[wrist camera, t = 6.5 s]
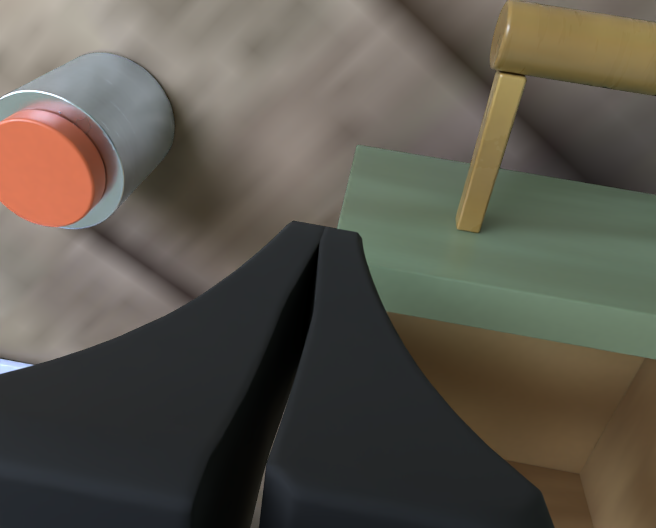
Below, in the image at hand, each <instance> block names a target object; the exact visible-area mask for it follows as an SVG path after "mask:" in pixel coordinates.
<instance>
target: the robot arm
mask: <svg viewBox="0 0 656 528" xmlns="http://www.w3.org/2000/svg"><path fill="white" fill-rule="evenodd" d="M290 392H291V393H290ZM289 395H290V396H289ZM288 398H289V399H288ZM287 401H288V402H287ZM286 404H287V405H286ZM285 407H286V409H285ZM284 409H285V412H284ZM283 412H284V415H283ZM282 415H283V418H282ZM281 418H282V421H281ZM280 421H281V423H280ZM279 424H280V426H279ZM278 427H279V429H278ZM277 429H278V432H277ZM276 432H277V435H276ZM275 435H276V438H275ZM274 438H275V441H274ZM273 441H274V444H273ZM272 444H273V447H272ZM271 447H272V450H271ZM270 450H271V452H270ZM269 453H270V455H269ZM268 456H269V458H268ZM267 459H268V461H267ZM266 463H267V464H266ZM265 466H266V473H265V481H264V490H263V498H262V507H261V515H260V524H259V528H555V527H554V525H553V522H552V519H551V516H550V514H549V511H548V508H547V505H546V503H545V500H544V497H543V494H542V492H541V491H540V490H539V489H538V488H537V487H536V486H535V485H533V484H532V483H531V482H530V481H529V480H528V479H526V478H525V477H524V476H523V475H522V474H521V473H519V472H518V471H517V470H516V469H515V468H514V467H512V466H511V465H510V464H509V463H508V462H507V461H505V460H504V459H503V458H502V457H501V456H500V455H498V454H497V453H496V452H495V451H494V450H493V449H491V448H490V447H489V446H488V445H487V444H486V443H485V442H484V441H483V440H482V439H481V438H480V437H479V436H478V435H477V434H476V433H475V432H474V431H473V430H472V429H471V428H470V427H469V426H468V425H467V424H466V423H465V422H464V421H463V420H462V419H461V418H460V417H459V416H458V415H457V414H456V412H455V411H454V410H453V409H452V408H451V407H450V406H449V404H448V403H447V402H446V401H445V400H444V398H443V397H442V396H441V395H440V394H439V393H438V391H437V390H436V389H435V388H434V387H433V385H432V384H431V383H430V382H429V380H428V379H427V378H426V376H425V375H424V373H423V372H422V371H421V369H420V368H419V367H418V365H417V364H416V362H415V361H414V359H413V358H412V356H411V354H410V353H409V351H408V350H407V348H406V347H405V345H404V343H403V342H402V340H401V338H400V337H399V335H398V333H397V331H396V329H395V328H394V326H393V324H392V322H391V320H390V318H389V316H388V314H387V312H386V310H385V308H384V306H383V303H382V301H381V299H380V296H379V294H378V292H377V289H376V287H375V284H374V282H373V279H372V276H371V274H370V271H369V267H368V264H367V261H366V257H365V253H364V249H363V242H362V237H361V236H360V235H359V233H358V232H354V231H348V230H343V229H337V228H331V227H326V226H320V225H315V224H309V223H304V222H298V221H292V222H291V223H289V224H288V225H286V226H285V227H284V228H283V229H282V230H281V231H280V232H279V233H278V234H277V235H276V236H275V237H274V238H273V239H272V240H271V241H270V242H269V243H268V244H267V245H266V246H264V247H263V248H262V249H261V250H260V251H259V252H258V253H256V254H255V255H254V256H253V257H252V258H250V259H249V260H248V261H247V262H246V263H244V264H243V265H242V266H241V267H240V268H238V269H237V270H236V271H234V272H233V273H232V274H230V275H229V276H227V277H226V278H225V279H223V280H222V281H220V282H219V283H218V284H216V285H215V286H213V287H212V288H211V289H209V290H208V291H206V292H205V293H203V294H202V295H200V296H199V297H197V298H195V299H194V300H192V301H191V302H189V303H187V304H186V305H184V306H182V307H180V308H179V309H177V310H175V311H173V312H171V313H169V314H167V315H166V316H164V317H161V318H159V319H157V320H155V321H153V322H150V323H148V324H146V325H144V326H142V327H139V328H137V329H135V330H133V331H130V332H128V333H126V334H124V335H122V336H119V337H117V338H114V339H112V340H109V341H106V342H104V343H101V344H98V345H96V346H93V347H90V348H88V349H85V350H82V351H79V352H76V353H73V354H70V355H67V356H64V357H60V358H57V359H54V360H51V361H47V362H44V363H40V364H36V365H32V364H26V363H21V362H16V361H10V360H5V359H0V528H250V527H251V522H252V518H253V514H254V510H255V506H256V501H257V497H258V493H259V489H260V485H261V481H262V477H263V473H264V469H265Z"/></svg>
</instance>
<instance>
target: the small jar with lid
mask: <svg viewBox="0 0 656 528" xmlns="http://www.w3.org/2000/svg"><path fill="white" fill-rule="evenodd" d="M174 131H175V124H174V116H173V111H172V108H171V105H170V102H169V100H168V98H167V96H166V94H165V92H164V91H163V89H162V87H161V86H160V85H159V83H158V82H157V81H156V80H155V78H154V77H153V76H152V75H151V74H150V73H149V72H147V71H146V70H145V69H144V68H143V67H141V66H140V65H138V64H137V63H135V62H133V61H131V60H129V59H127V58H125V57H122V56H120V55H116V54H112V53H105V52H95V53H89V54H85V55H82V56H79V57H77V58H75V59H73V60H71V61H69V62H68V63H66V64H64V65H62V66H60V67H58V68H56V69H54V70H52V71H50V72H48V73H46V74H44V75H42V76H40V77H38V78H36V79H35V80H33V81H31V82H29V83H27V84H25V85H23V86H21V87H19V88H17V89H15V90H13V91H11V92H9V93H7V94H5V95H4V96H2V97H0V201H1V202H2V203H3V204H4V205H5V206H6V207H7V208H8V209H9V210H11V211H12V212H14V213H15V214H16V215H18V216H20V217H21V218H23V219H25V220H27V221H30V222H32V223H35V224H38V225H42V226H48V227H59V228H66V229H82V228H88V227H92V226H95V225H97V224H100V223H102V222H103V221H105V220H106V219H108V218H109V217H110V216H111V215H112V214H113V213H114V212H115V211H116V210H117V209H118V208H119V207H120V206H121V204H122V203H123V202H124V201H125V200H126V199H127V198H128V197H129V196H130V195H131V194H132V193H133V191H134V190H135V189H136V188H137V187H138V186H139V185H140V184H141V183H142V182H143V181H144V180H145V178H146V177H147V176H148V175H149V174H150V173H151V172H152V171H153V170H154V169H155V168H156V166H157V165H158V164H159V163H160V162H161V161H162V160H163V159H164V158H165V156H166V155H167V154H168V152H169V150H170V148H171V145H172V142H173V138H174Z"/></svg>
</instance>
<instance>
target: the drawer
mask: <svg viewBox="0 0 656 528" xmlns="http://www.w3.org/2000/svg"><path fill="white" fill-rule="evenodd" d="M490 66H491V68H492V69H493V70H496V74H495V77H494V81H493V85H492V88H491V92H490V95H489V99H488V103H487V106H486V110H485V113H484V117H483V121H482V124H481V128H480V131H479V135H478V139H477V142H476V146H475V149H474V153H473V157H472V160H471V164H470V163H464V162H458V161H452V160H446V159H440V158H434V157H428V156H422V155H416V154H410V153H404V152H398V151H392V150H386V149H380V148H374V147H368V146H362V145H357V146H356V150H355V155H354V159H353V163H352V167H351V171H350V176H349V180H348V184H347V188H346V192H345V197H344V201H343V205H342V209H341V214H340V218H339V222H338V226H337V229H343V230H348V231H354V232H358V233H359V235H360V236H361V237H362V242H363V249H364V253H365V257H366V261H367V264H368V267H369V271H370V274H371V276H372V279H373V282H374V284H375V287H376V289H377V292H378V294H379V296H380V299H381V301H382V303H383V306H384V308H385V310H386V312H387V314H388V316H389V318H390V320H391V322H392V324H393V326H394V328H395V329H396V331H397V333H398V335H399V337H400V338H401V340H402V342H403V343H404V345H405V347H406V348H407V350H408V351H409V353H410V354H411V356H412V358H413V359H414V361H415V362H416V364H417V365H418V367H419V368H420V369H421V371H422V372H423V373H424V375H425V376H426V378H427V379H428V380H429V382H430V383H431V384H432V385H433V387H434V388H435V389H436V390H437V391H438V393H439V394H440V395H441V396H442V397H443V398H444V400H445V401H446V402H447V403H448V404H449V406H450V407H451V408H452V409H453V410H454V411H455V412H456V414H457V415H458V416H459V417H460V418H461V419H462V420H463V421H464V422H465V423H466V424H467V425H468V426H469V427H470V428H471V429H472V430H473V431H474V432H475V433H476V434H477V435H478V436H479V437H480V438H481V439H482V440H483V441H484V442H485V443H486V444H487V445H488V446H489V447H490V448H491V449H493V450H494V451H495V452H496V453H497V454H498V455H500V456H501V457H502V458H503V459H504V460H505V461H507V462H508V463H509V464H510V465H511V466H512V467H514V468H515V469H516V470H517V471H518V472H519V473H521V474H522V475H523V476H524V477H525V478H526V479H528V480H529V481H530V482H531V483H532V484H533V485H535V486H536V487H537V488H538V489H539V490H540V491H541V492H542V494H543V497H544V500H545V503H546V505H547V508H548V511H549V514H550V516H551V519H552V522H553V525H554V527H555V528H656V195H654V194H648V193H642V192H636V191H630V190H624V189H619V188H613V187H607V186H601V185H595V184H589V183H583V182H577V181H571V180H565V179H559V178H553V177H547V176H541V175H535V174H529V173H523V172H517V171H511V170H505V169H499V168H500V165H501V162H502V159H503V155H504V152H505V149H506V146H507V142H508V139H509V136H510V133H511V129H512V126H513V123H514V120H515V117H516V113H517V110H518V107H519V104H520V100H521V97H522V94H523V91H524V87H525V84H526V81H527V80H526V77H525V75H528V76H534V77H540V78H546V79H553V80H559V81H565V82H571V83H577V84H584V85H590V86H596V87H602V88H608V89H615V90H621V91H627V92H633V93H639V94H646V95H652V96H656V22H652V21H645V20H639V19H633V18H626V17H620V16H613V15H607V14H601V13H594V12H588V11H582V10H575V9H569V8H562V7H556V6H550V5H543V4H537V3H530V2H524V1H518V0H508V1H507V2H506V3H505V5H504V6H503V8H502V10H501V13H500V15H499V18H498V21H497V25H496V28H495V32H494V36H493V41H492V46H491V53H490Z"/></svg>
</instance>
